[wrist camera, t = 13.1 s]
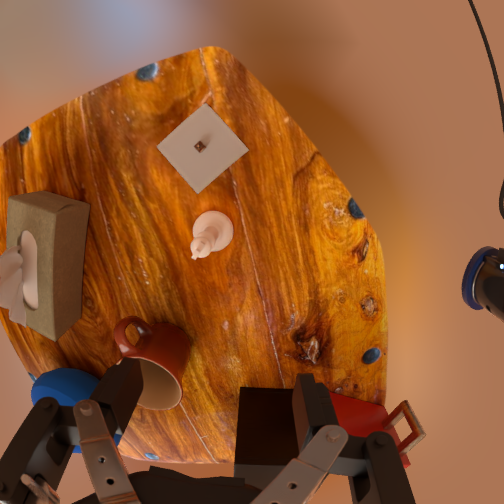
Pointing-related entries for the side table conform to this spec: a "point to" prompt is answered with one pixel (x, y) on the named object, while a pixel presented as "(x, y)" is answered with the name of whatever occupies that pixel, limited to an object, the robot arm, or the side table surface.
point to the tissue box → (44, 261)
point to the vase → (66, 389)
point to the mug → (157, 360)
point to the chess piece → (211, 233)
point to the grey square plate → (202, 148)
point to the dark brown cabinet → (264, 435)
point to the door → (377, 421)
